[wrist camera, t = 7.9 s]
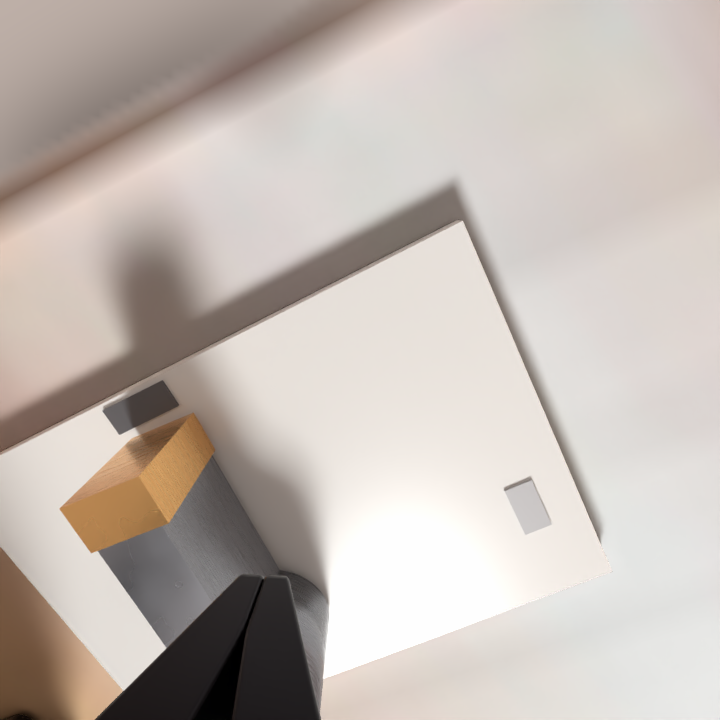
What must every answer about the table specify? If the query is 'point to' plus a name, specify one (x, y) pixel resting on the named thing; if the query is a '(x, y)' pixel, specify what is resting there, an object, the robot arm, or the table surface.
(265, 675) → the robot arm
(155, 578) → the lock lever
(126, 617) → the base
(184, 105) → the table surface
